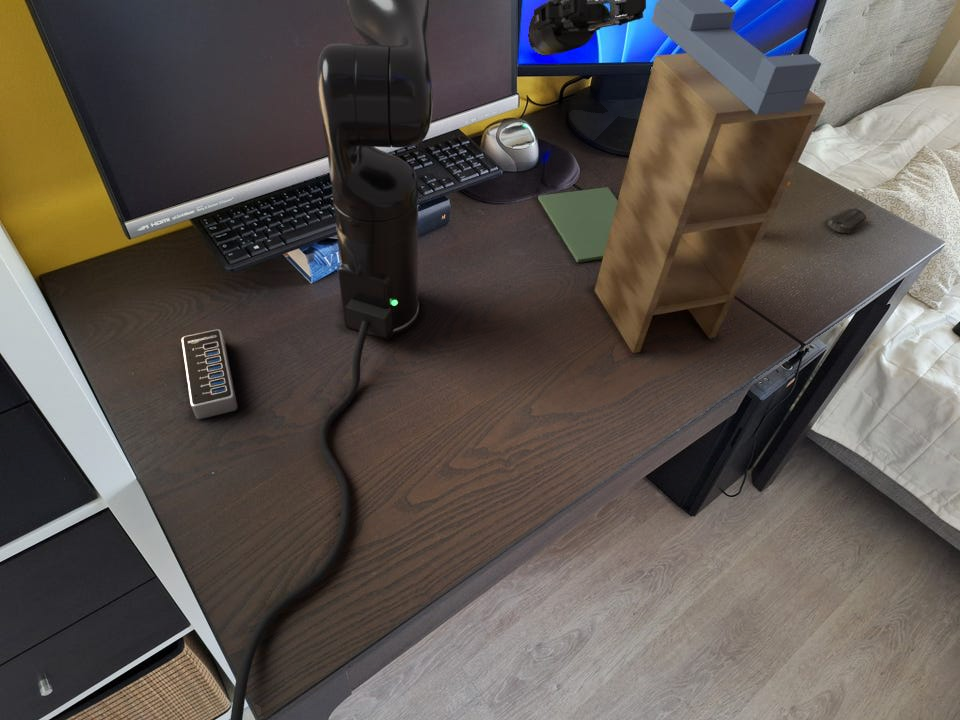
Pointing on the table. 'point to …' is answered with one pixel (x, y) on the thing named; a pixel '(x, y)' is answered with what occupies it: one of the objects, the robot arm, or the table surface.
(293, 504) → the table surface
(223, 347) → the multiport hub
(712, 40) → the grey stepped plank
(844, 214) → the dark grey rounded device
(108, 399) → the table surface
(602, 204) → the mat
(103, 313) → the table surface
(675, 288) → the open shelf unit
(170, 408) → the table surface
